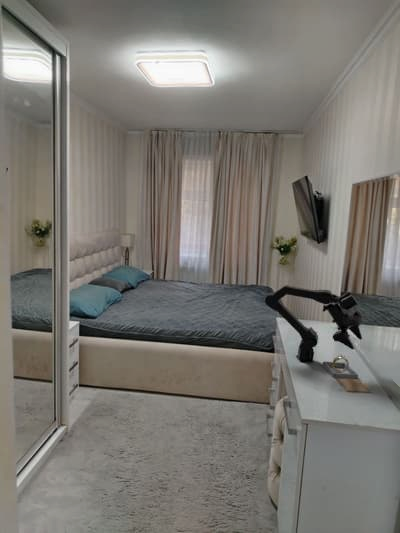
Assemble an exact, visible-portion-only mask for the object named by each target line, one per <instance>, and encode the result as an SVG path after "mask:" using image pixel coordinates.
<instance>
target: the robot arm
mask: <svg viewBox="0 0 400 533" xmlns="http://www.w3.org/2000/svg"><path fill="white" fill-rule="evenodd" d="M287 295H289V296H292V297H293V296H295V297H299V298H305V299H310V300H313V301H315V302H317V303H320V304H323V306H322V312H323V313H324V312H326V311H327V312H328V314H329V315H330V316H331V318H332V321H331V322H332V323H335V324H336V326H337V328H336V329H337V331H335V333H333V335H332V339H333V340H334V342H338V343H341V344H342V345H344V346H346V347H347V348H349V349H350V350H354V349H355V347H354V345H353V343H352V341H351V339H350V334H349V331H350V332H351V333H353V335H354V336H355V337H356V338H357V339H358V340H360V341H361V340H362V339H363V336H362V334H361V330H360V325H361V323H363V319H362V318H363V315H362V314H361V313H360V312H359V311H354V313H353V314H351V315H349V313H348V312H344V310H346V311H348V310H351V309H353V308H354V307H356V306H357V305H359V303H358V300H357V298H355V296H354V295H353V294H352V293H351V291H347V292H346V293H344V294H343V295H341V296H339V295H336V294H334V293H333V292H332V291H331V290H329V289H316V290H315V289H308V288H303V287H302V288H301V287H296V286H292V285H291V286H290V285H288V284H285V285H283V286H282V287H281V288H279V289H278V290H277V291H274V292H270V293H269V294H268V295H266V297H265V299H264V302H265V305H266V306H268V307H269V308H270V309H271V310H273V311H275V312H277V313H279V315H280V316H281V317H282V318H284V320H285V321H286V322H287V323H288V324H289V325H290V326H291V327H292V328H293V329H294V331H296V332H297V333H298V334H299V336H300V338H301V340H300V343H299V345H298V348H297V355H295V357H296V358H297V359H298V361H299V362H300V363H314V355H315V351H314V348H315V347H316V346H317V345H318V343H319V335H318V332H317V331H315V329H314V328H313V327H312V326H310V327H306V326H305V325H304V324H303V323H302V322H301V321H300V320H299V319H298V318H297V317H296V316H295V315H294V314H293V313H292V311H290V310H289V309H288V308H287V307H286V306H285V305H284V303H283V300H282V298H284V297H285V296H287Z"/></svg>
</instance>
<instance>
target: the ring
mask: <svg viewBox="0 0 400 533" xmlns="http://www.w3.org/2000/svg"><path fill="white" fill-rule="evenodd" d="M340 360H344V361H345V363H346V364H347V367H346V368H343V369H342V370H341V369H338V368H337V367H334V363H335V362H338V361H340ZM331 362H332V365H333V367H332V368H333V370H334V371H336V372H337V373H344V372H346V371H347V369H348V367H350V363H349V361H348V359H347V358H346V355H343V354H339V355H337V356H335V357H334V358H333V359H332V361H331Z"/></svg>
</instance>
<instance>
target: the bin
mask: <svg viewBox="0 0 400 533" xmlns="http://www.w3.org/2000/svg"><path fill="white" fill-rule="evenodd" d="M332 362H333V361H322V366H323V368H324V369H325V370H326V372H328V373H329V374H330V376H331V377H332V378H334V379H356V380H358V377H359V375H358V374H359V373H357V372H356V371H355V370H353V368H352V367H351V366H349V367H348V369H347V370H346V371H347V373H346V372H345V373H344V372H335V370H334V369H332V368H333V365H332ZM331 367H332V368H331ZM334 367H335V368H343V369H345V368H346V367H347V363H346V362H343V361H342V362H340V361H336V362H335V363H334Z"/></svg>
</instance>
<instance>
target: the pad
mask: <svg viewBox="0 0 400 533" xmlns="http://www.w3.org/2000/svg"><path fill="white" fill-rule="evenodd" d="M335 380H336V381H337V382H338V384H340V386H341V387H342V388H343V389H344V390H345V391H346V392H348V393H349V392H350V393H351V392H352V393H367V394H368V393H369V394H370V393H372V391H371V390H370V389H369V388H368V387H367V386H366V385H365V384H364V383H363V382H362V381H361V380H360V379H345V378H335Z"/></svg>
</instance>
